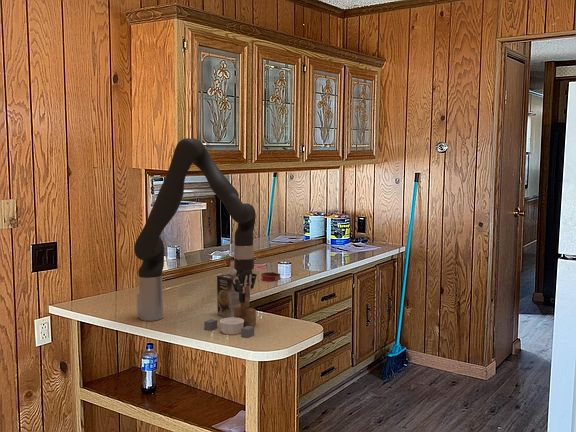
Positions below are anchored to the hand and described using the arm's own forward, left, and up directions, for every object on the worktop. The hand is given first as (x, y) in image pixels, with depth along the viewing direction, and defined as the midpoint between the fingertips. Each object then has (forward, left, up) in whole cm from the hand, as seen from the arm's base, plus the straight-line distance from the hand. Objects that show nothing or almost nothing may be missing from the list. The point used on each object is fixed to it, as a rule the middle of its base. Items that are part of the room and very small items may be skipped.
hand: (244, 301), depth 237 cm
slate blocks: (0, -10, -9) cm, 14 cm away
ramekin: (0, -8, -10) cm, 13 cm away
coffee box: (-14, +9, -10) cm, 19 cm away
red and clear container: (-38, +75, -10) cm, 85 cm away
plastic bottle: (-19, +20, -10) cm, 30 cm away
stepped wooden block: (0, 0, -9) cm, 9 cm away
